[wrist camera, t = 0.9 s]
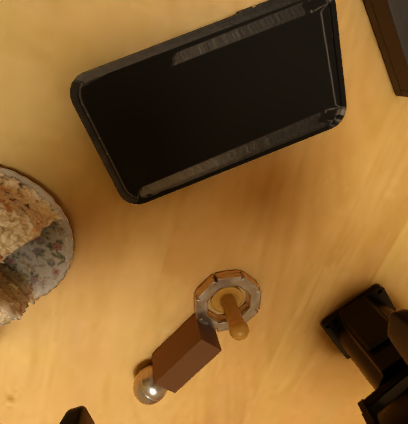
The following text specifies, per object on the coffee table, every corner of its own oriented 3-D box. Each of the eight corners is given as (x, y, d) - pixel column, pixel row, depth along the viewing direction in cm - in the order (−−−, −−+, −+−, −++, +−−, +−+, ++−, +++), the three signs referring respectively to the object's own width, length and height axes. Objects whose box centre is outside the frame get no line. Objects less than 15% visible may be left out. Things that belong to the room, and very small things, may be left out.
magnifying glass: (227, 259, 24) (237, 281, 21) (269, 291, 26) (283, 314, 23) (114, 369, 26) (112, 401, 24) (162, 390, 28) (164, 421, 26)
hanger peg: (247, 297, 26) (266, 336, 22) (222, 315, 26) (236, 356, 22) (230, 279, 24) (247, 316, 21) (204, 297, 25) (216, 338, 21)
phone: (348, 121, 20) (127, 210, 19) (338, 119, 21) (127, 203, 20) (332, -25, 16) (59, 78, 15) (320, -20, 17) (64, 78, 16)
